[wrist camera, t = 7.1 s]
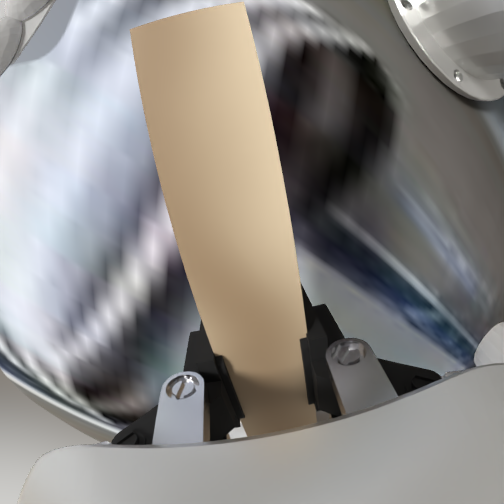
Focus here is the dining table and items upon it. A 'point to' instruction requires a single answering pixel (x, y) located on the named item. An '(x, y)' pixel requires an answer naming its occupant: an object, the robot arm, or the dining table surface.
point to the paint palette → (19, 26)
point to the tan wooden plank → (228, 205)
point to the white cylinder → (491, 347)
